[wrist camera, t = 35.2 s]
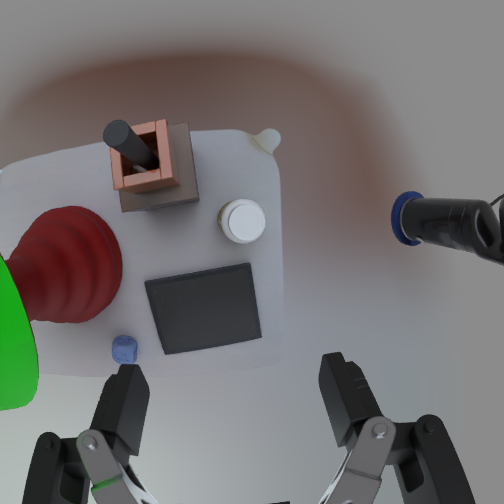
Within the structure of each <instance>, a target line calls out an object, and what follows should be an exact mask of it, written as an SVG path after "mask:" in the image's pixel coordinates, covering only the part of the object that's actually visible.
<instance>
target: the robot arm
mask: <svg viewBox="0 0 504 504" xmlns="http://www.w3.org/2000/svg"><path fill="white" fill-rule="evenodd" d="M500 199H502V200H501V202H500V206H499V218H500V223H499V221H498V219H497V217H496V215H495V213H494V211H493V209H492V206H493V205H494V204H495V203H496V202H498V201H499V200H500ZM399 223H400V228H401V231H402V233H403V234H404V236H405V237H406V238H408V239H409V240H413V241H421V242H422V243H424V244H426V243H430V244H435V245H440V246H444V247H449V248H453V249H458V250H463V251H467V252H471V253H475V254H476V255H477V256H479V257H480V258H483V259H485V260H489V261H492V262H495V263H498V264H500V265H503V266H504V194H503V195H501V196H500V197H498V198H497V199H496V200H494V201H493V202H492V203H490V204H489V203H487V202H486V201H483V200H470V199H446V198H418V197H411V198H409V199H407V200H406V201H405V202H404V203H403V205H402V207H401V210H400V215H399ZM319 387H320V391H321V394H322V397H323V400H324V403H325V406H326V410H327V413H328V416H329V419H330V423H331V426H332V429H333V432H334V436H335V438H336V442H337V446H338V447H342V446H346V448H347V451H348V452H347V454H346V456H345V458H344V460H343V462H342V464H341V466H340V468H339V470H338V472H337V474H336V476H335V477H334V479H333V481H332V483H331V485H330V486H329V488H328V489H327V491H326V493H325V494H324V495H323V497H322V499H321V500H320V502H319V503H318V504H372V503H373V501H374V499H375V497H376V494H377V492H378V490H379V488H380V485H381V482H382V479H381V474H382V471H383V469H384V466H385V465H393V466H394V469H395V473H396V476H397V480H398V483H399V486H400V490H401V493H402V497H403V500H404V504H476V503H475V500H474V497H473V494H472V492H471V489H470V486H469V483H468V481H467V478H466V475H465V473H464V470H463V467H462V465H461V463H460V460H459V458H458V455H457V453H456V451H455V448H454V446H453V444H452V441H451V440H450V437H449V435H448V433H447V430H446V428H445V426H444V424H443V422H442V421H441V419H440V418H439V417H437V416H435V415H430V414H429V415H424V416H422V417H420V418H419V419H418V420H417V422H410V423H395V422H392V421H391V420H390V419H388V418H386V417H384V416H383V414H382V413H381V411H380V408H379V406H378V404H377V402H376V400H375V397H374V396H373V393H372V391H371V390H370V387H369V385H368V383H367V380H365V376H364V374H363V372H362V370H361V368H360V367H359V366H357V365H356V364H355V363H354V362H353V361H351V362H345V360H344V357H343V355H342V353H341V352H335V353H329V354H324V355H323V356H322V361H321V367H320V372H319ZM149 396H150V392H149V386H148V384H147V381H146V379H145V377H144V375H143V373H142V371H141V368H140V366H139V365H137V364H121V366H120V368H119V371H118V373H117V375H116V374H112V375H111V376H110V378H109V379H108V380H107V381H106V383H105V385H104V388H103V391H102V394H101V396H100V401H99V402H98V405H97V408H96V410H95V414H94V417H93V420H92V423H91V426H90V428H89V430H85V431H83V432H82V433H80V435H79V436H78V437H76V438H62V439H60V438H59V437H58V436H57V435H56V434H54V433H52V432H45V433H43V434H42V435H40V437H39V438H38V440H37V443H36V446H35V449H34V453H33V456H32V460H31V464H30V468H29V472H28V476H27V480H26V485H25V490H24V495H23V501H22V504H87V502H88V494H89V486H90V480H91V482H92V484H93V487H92V488H91V492H92V495H93V497H94V499H95V501H96V503H97V504H159V503H158V502H157V501H156V500H155V499H154V498H153V497H152V496H151V494H150V493H149V492H148V491H147V489H146V488H145V486H144V485H143V483H142V482H141V480H140V479H139V477H138V475H137V474H136V472H135V471H134V469H133V467H132V466H131V464H130V463H129V456H130V455H134V456H138V454H139V448H140V442H141V437H142V431H143V426H144V421H145V416H146V411H147V406H148V402H149ZM272 504H290V502H289V501H287V502H280V503H272Z"/></svg>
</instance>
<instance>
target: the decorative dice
mask: <svg viewBox="0 0 504 504" xmlns="http://www.w3.org/2000/svg"><path fill="white" fill-rule="evenodd" d="M112 357H113V359H114V360H115V361H116V362H118V363H119V364H133V363H134V362H135V361H136V358H137V342H136V341H135V340H134V339H133V338H131V337H128V336H119V337H117V338H115V339H114V341H113V345H112Z"/></svg>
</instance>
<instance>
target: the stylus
mask: <svg viewBox="0 0 504 504" xmlns="http://www.w3.org/2000/svg"><path fill="white" fill-rule="evenodd" d="M103 139H104V142H105V143H106V144H107V145H108V146H110V147H111V148H113V149H115V150H116V151H118V152H119V153H121V154H122V155H124V156H125V157H127V158H128V159H130V160H132V161H133V162H135V163H136V164H138V165H139V166H141V167H142V168H144V169H145V170H147V171H150V170H154V169H158V167H159V159H158V158H157V156H156V155H155V154H154V153H153V152H152V151H151V150H150V149H149V147H148V146H147V145H146V144H145V143H144V142H143V141H142V140H141V139H140V137H139V136H138V135H137V134H136V133H135V132H134V131H133V130H132V129H131V127H130V126H129V125H128V124H127V123H126V122H125V121H123V120H115V121H112V122H111V123H109V124H108V125H107V126H106V128H105V130H104V133H103Z"/></svg>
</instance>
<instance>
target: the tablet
mask: <svg viewBox="0 0 504 504" xmlns="http://www.w3.org/2000/svg"><path fill="white" fill-rule="evenodd" d="M145 287H146V291H147V295H148V299H149V302H150V306H151V310H152V314H153V317H154V321H155V324H156V327H157V331H158V334H159V337H160V341H161V344H162V347H163V350H164V353H165V355H168V354H175V353H181V352H188V351H194V350H200V349H206V348H212V347H217V346H223V345H228V344H233V343H238V342H243V341H248V340H253V339H257V338H262V336H261V329H260V323H259V317H258V310H257V304H256V297H255V291H254V284H253V278H252V271H251V265H250V263H243V264H238V265H232V266H227V267H221V268H216V269H210V270H205V271H199V272H194V273H188V274H183V275H177V276H171V277H166V278H160V279H154V280H149V281H145Z"/></svg>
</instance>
